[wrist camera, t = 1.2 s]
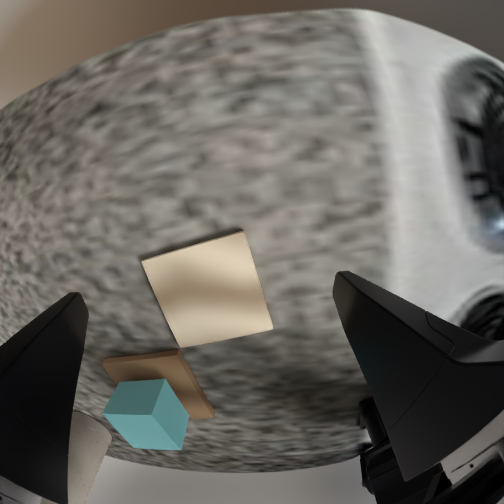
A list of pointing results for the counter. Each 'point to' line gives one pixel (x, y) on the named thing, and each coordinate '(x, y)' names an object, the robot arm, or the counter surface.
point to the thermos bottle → (84, 456)
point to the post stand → (163, 377)
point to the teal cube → (148, 414)
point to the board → (209, 290)
